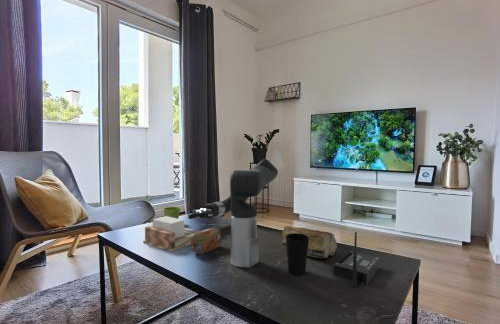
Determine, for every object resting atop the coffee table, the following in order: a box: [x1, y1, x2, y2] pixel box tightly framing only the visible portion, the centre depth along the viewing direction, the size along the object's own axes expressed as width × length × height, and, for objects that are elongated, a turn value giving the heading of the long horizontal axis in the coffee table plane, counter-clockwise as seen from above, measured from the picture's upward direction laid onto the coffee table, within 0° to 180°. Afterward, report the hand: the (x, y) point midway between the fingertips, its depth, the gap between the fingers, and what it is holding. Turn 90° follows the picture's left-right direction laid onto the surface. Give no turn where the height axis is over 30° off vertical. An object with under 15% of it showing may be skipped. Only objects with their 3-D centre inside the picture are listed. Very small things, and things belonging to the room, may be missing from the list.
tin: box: [190, 227, 223, 255], centre depth 112 cm, size 15×3×8 cm, turn 143°
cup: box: [286, 233, 309, 277], centre depth 93 cm, size 8×8×12 cm
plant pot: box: [162, 206, 181, 219], centre depth 149 cm, size 9×9×9 cm
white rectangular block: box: [152, 215, 185, 239], centre depth 120 cm, size 12×7×7 cm, turn 56°
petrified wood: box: [281, 225, 338, 259], centre depth 112 cm, size 19×13×10 cm
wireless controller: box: [333, 231, 381, 288], centre depth 93 cm, size 20×14×17 cm
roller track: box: [142, 225, 204, 253], centre depth 124 cm, size 18×21×7 cm
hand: (189, 216), depth 130 cm, fingers closed
